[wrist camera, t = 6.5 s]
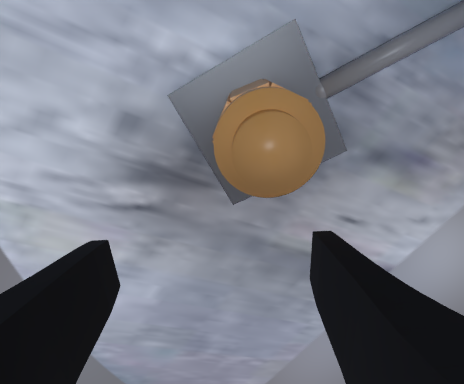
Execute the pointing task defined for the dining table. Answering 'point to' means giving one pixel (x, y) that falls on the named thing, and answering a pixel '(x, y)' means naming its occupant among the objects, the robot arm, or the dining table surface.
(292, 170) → the wire nut
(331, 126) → the gray square paddle
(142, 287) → the dining table surface
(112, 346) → the dining table surface
